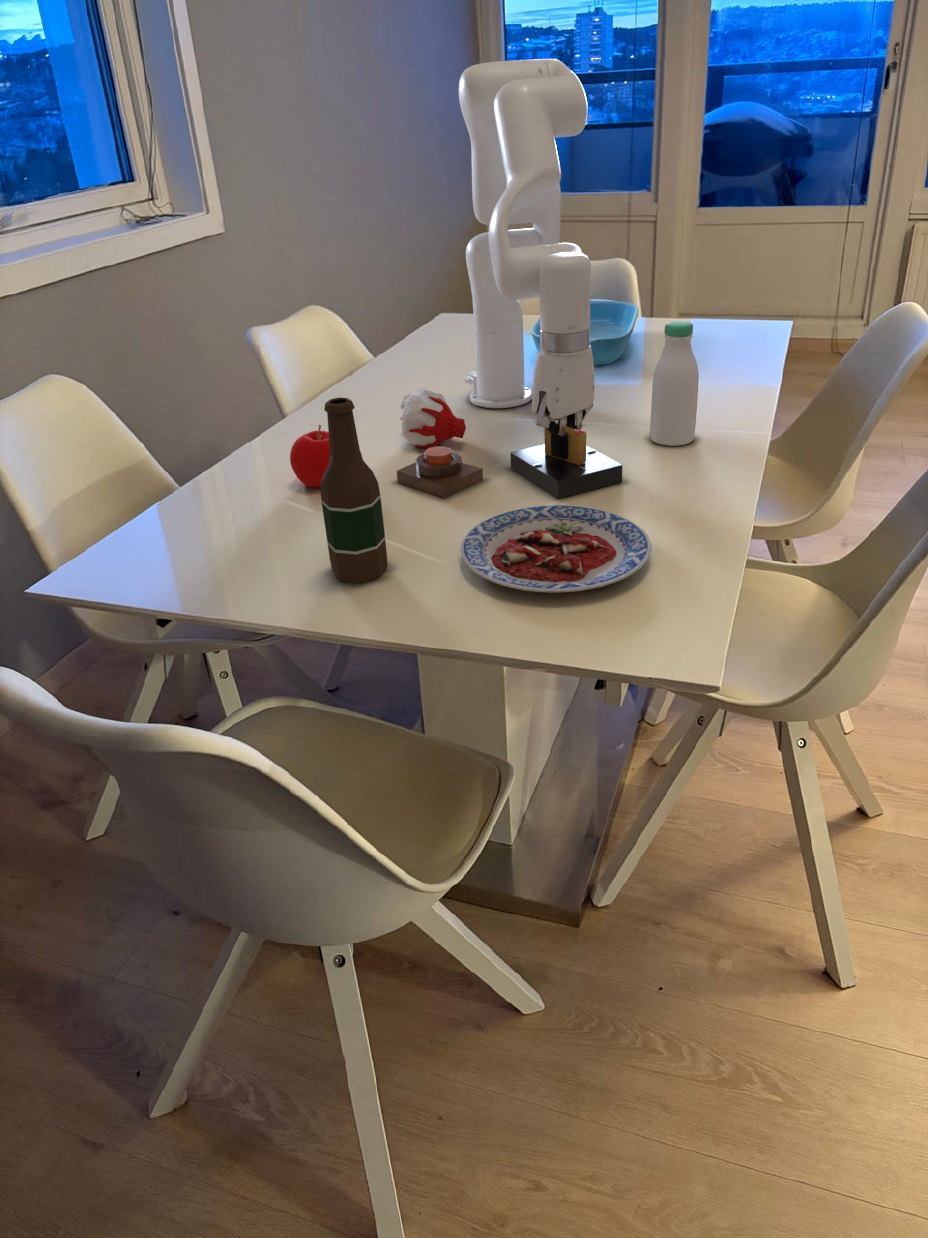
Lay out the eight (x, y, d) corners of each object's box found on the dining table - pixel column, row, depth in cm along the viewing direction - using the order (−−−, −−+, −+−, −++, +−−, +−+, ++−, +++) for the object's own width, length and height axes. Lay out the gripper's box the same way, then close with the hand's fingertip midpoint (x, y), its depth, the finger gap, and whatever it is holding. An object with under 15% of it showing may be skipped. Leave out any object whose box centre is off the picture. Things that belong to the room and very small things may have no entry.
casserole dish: (626, 372, 201) (627, 338, 197) (523, 370, 206) (522, 337, 202) (641, 328, 231) (643, 298, 227) (551, 327, 236) (551, 298, 233)
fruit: (333, 496, 152) (325, 437, 147) (284, 491, 155) (275, 432, 150) (358, 474, 159) (351, 417, 154) (311, 470, 162) (302, 414, 157)
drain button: (419, 462, 153) (418, 452, 152) (438, 454, 156) (437, 444, 155) (438, 468, 150) (438, 458, 149) (457, 459, 153) (457, 449, 152)
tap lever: (544, 454, 155) (544, 423, 152) (552, 451, 156) (551, 420, 153) (578, 465, 150) (578, 433, 147) (586, 461, 151) (586, 430, 148)
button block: (397, 482, 155) (395, 460, 153) (435, 466, 161) (434, 443, 159) (445, 498, 149) (443, 475, 147) (483, 480, 154) (482, 457, 152)
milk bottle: (694, 447, 162) (703, 329, 151) (648, 446, 163) (654, 329, 153) (694, 431, 168) (702, 317, 158) (650, 430, 170) (656, 317, 159)
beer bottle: (332, 560, 133) (308, 393, 120) (388, 555, 133) (369, 388, 120) (330, 586, 126) (305, 413, 114) (388, 581, 126) (369, 407, 114)
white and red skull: (407, 425, 178) (479, 443, 173) (377, 445, 169) (453, 464, 164) (408, 379, 173) (483, 395, 168) (378, 397, 164) (456, 415, 159)
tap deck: (510, 469, 158) (510, 451, 156) (571, 454, 162) (571, 436, 161) (557, 499, 146) (557, 480, 145) (622, 482, 151) (622, 463, 149)
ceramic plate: (601, 624, 114) (601, 602, 112) (425, 578, 126) (423, 558, 125) (679, 538, 132) (680, 519, 131) (518, 506, 145) (518, 488, 143)
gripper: (581, 325, 150) (580, 436, 159) (510, 347, 141) (513, 463, 150) (618, 332, 145) (614, 446, 154) (547, 356, 136) (548, 475, 145)
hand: (565, 453), depth 152 cm, fingers closed on tap lever, 2 cm apart
